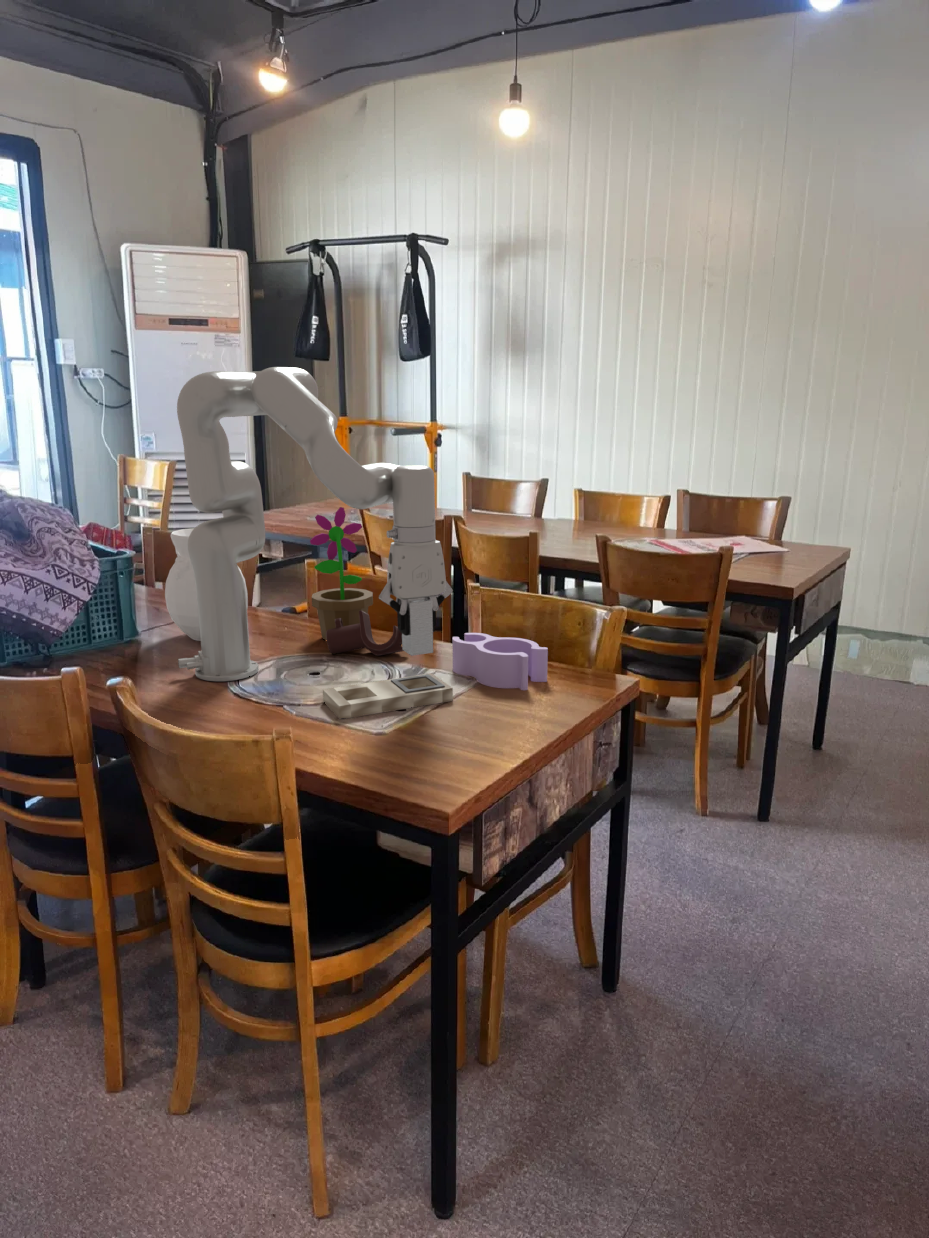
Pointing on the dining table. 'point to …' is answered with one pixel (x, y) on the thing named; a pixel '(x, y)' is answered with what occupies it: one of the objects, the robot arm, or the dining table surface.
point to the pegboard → (387, 695)
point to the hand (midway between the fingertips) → (417, 631)
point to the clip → (500, 660)
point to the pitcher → (184, 588)
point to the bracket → (360, 638)
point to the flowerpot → (340, 599)
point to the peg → (419, 627)
